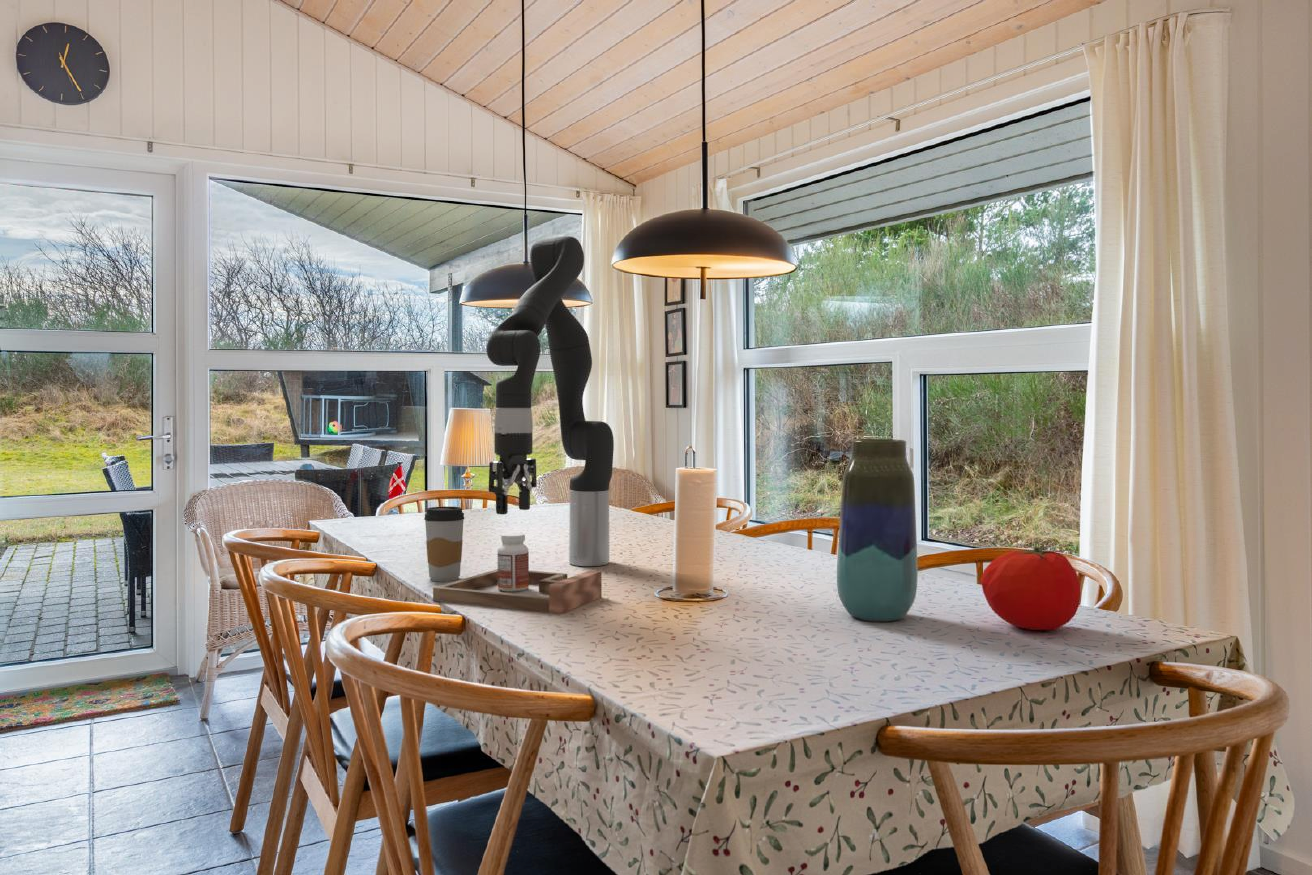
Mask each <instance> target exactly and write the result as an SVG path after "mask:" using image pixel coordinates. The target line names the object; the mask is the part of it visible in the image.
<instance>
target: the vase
mask: <svg viewBox="0 0 1312 875" xmlns="http://www.w3.org/2000/svg"><path fill="white" fill-rule="evenodd" d="M850 454H851V455H850V456H851V457H850V459H849V461H848V463H847V465H846V468H845V470H844V473H843V476H842V477H843V478H842V484H841V485H842V487H841V499H840V516H839V532H838V544H837V560H836V561H837V563H836V565H837V566H836V585H837V594H838V597H839V600H840V602H841V604H842V606H843V608H844V609H845V610H846V612H848V614H849V615H850V616H852V617H854V618H856V619H857V620H861V621H862V620H863V621H869V622H878V623H879V622H881V623H882V622H893V621H898V620H901V619H903V617H905V616H906V615H907V614H908V612H909V611H910V610H911V608H912V606H913V604H914V602H915V601H916V600H915V599H916V596H917V591H918V590H917V589H918V574H919V573H918V572H919V571H918V569H919V568H918V543H917V542H918V539H917V513H916V494H915V493H916V491H915V490H916V489H915V477H914V474H913V470H912V469H911V466H910V464H909V462H908V459H907V441H906V440H904V439H889V438H888V439H887V438H883V439H882V438H859V439H858V438H857V439H852V440H851V453H850Z"/></svg>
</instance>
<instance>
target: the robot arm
mask: <svg viewBox="0 0 1312 875" xmlns="http://www.w3.org/2000/svg"><path fill="white" fill-rule="evenodd" d="M529 261H530V267H531V271H532V276H533V280H534V284H533V285H531V287H530V288H528V289H527V290H526V291H525V292H524V293H523V294H522V296H521V297H520V298H519V300H518V301H517V303H516V305H515V307H514V309H513V310H512V312H511V313H510V314H509V316H508V317H506V318H505V319H504V320H503V321H501V323H500V324H498V325H497V326H496V327H495V329H494V330H493V331H492V332H491V334H490V335H489V337H488V339H487V343H486V348H485V349H486V354H487V355H486V356H487V357H488V359H489V361H490V362H491V363H492V364H493V365H496V366H500V367H516V366H517V369H516V370H515V372H514V374H513V375H512V376H508V377H504V378H500V379H498V380H497V382H496V384H495V414H494V426H493V427H494V429H493V430H494V431H493V432H494V434H493V436H494V437H493V438H494V439H493V440H494V441H493V443H494V446H493V447H494V450H493V451H494V454H495V455H497V456H499V460H498V461H490V462H489V464H488V465H489V466H488V467H489V468H488V492H489V493H493V495H495V514H497V515H507V514H508V513H509V512H508V508H509V507H508V506H509V504H508V503H509V500H508V498H509V497H508V496H509V495H508V492H509V490H510V488H511V487H512V486H513V485H514V484H516V485H517V488H518V509H519V510H520V511H522V510H523V511H529V510H530V509H531V507H530V506H531V492H532V490H533V488H537V484H538V483H537V481H538V480H537V479H538V478H537V460H536V458H528V456H530V455H532V453H533V431H534V430H533V429H534V428H533V414H532V388H533V382H534V378H535V374H536V370H537V368H538V367H537V366H538V363H539V360H540V356H541V349H542V348H541V346H542V345H541V341H540V339H539V335H540V334H541V333H542V331H543V329H544V327H545V330H546V336H547V343H548V350H549V351H548V352H549V356H550V362H551V366H552V371H553V376H554V381H555V388H556V395H557V402H558V412H559V424H560V426H559V427H560V435H561V442H562V443H561V444H562V447H563V450H564V453H565V454H566V455H567V457H569V459H572V460H574V461H584V468H583V470H582V471H581V472H580V473H579V474H576V475H574V476H572V477H571V478H569V539H568V540H569V545H568V546H569V549H568V550H569V554H568V555H569V556H568V558H569V559H568V560H569V564H570V565H572V566H576V567H577V566H578V567H579V566H580V567H597V566H605V565H608V564H609V563H610V484H611V479H612V477H613V467H614V466H613V464H614V451H615V450H614V446H615V443H614V442H615V441H614V434H613V431H612V428H611V427H610V425H609V424H608V423H607V422H605V421H599V420H586V417H585V411H584V403H583V402H584V401H583V398H584V392H585V389H586V386H587V385H588V384H587V383H588V380H589V378H590V375H591V371H592V366H593V358H592V351H591V344H590V340H589V335H588V333H587V331H586V329H585V328H584V327H583V325H582V324H581V322H579V320H578V319H577V318H576V317H575V315H574V314H573V313H572V312H571V311H570V309H569V308H568V307H567V305H566V304H565V302H564V301H563V299H562V297H563V296H564V295H565V293H566V292H567V291H568V289H569V288H570V287H571V286H572V284H573V283H574V282H575V281H576V280H577V278H579V276H580V275H581V273H582V270H583V269H584V263H585V253H584V250H583V246H582V245H581V242H580V241H579V240H578V239H577V237H574V236H567V235H565V236H558V237H551V238H546V239H545V238H544V239H539V240H535V241H533V242H532V244H531V246H530V250H529Z"/></svg>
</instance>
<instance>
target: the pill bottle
mask: <svg viewBox="0 0 1312 875" xmlns="http://www.w3.org/2000/svg"><path fill="white" fill-rule="evenodd" d="M500 539H501V543H502V544H501V545H500V546H498V548H497V569H498V583H497V588H498V590H499V591H500V592H504V593H515V592H522V591H526V590H528V589H529V586H530V584H529V571H530V570H529V569H530V566H529V560H530V559H529V547H528V546H527V545H526V544H524V542H525V541H526V537H525V533H522V532H521V533H520V532H507V533H502V534H501V535H500Z"/></svg>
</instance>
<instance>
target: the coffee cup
mask: <svg viewBox="0 0 1312 875" xmlns="http://www.w3.org/2000/svg"><path fill="white" fill-rule="evenodd" d="M423 520H424V522H425V524H424V525H425V536H426V542H425V544H426V558H427V563H428V565H427V566H428V577H429V578H430V581H432V582H455V581H458V580H460V579H459V578H460V576H461V564H462V558H463V557H462V554H463V553H462V552H463V543H464V542H463V537H464V536H463V535H464V533H463V532H464V520H465V512H463V508H462V507H460V506H431V507H427V508H426V511H425V513H424V519H423Z"/></svg>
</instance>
